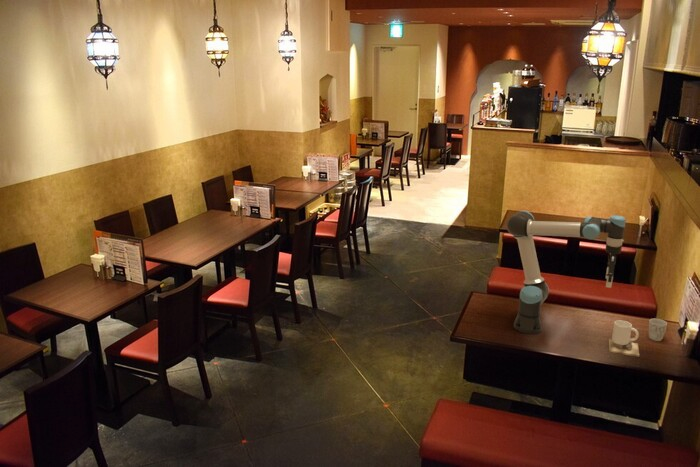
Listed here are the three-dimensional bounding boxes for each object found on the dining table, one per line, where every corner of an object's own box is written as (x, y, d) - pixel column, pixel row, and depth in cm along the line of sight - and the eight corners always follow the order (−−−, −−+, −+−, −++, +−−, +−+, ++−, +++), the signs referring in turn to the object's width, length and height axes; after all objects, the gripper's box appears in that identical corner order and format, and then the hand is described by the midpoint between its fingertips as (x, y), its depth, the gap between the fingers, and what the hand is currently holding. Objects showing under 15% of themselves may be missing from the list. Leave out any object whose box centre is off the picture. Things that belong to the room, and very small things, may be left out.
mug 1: (637, 341, 293) (640, 323, 290) (636, 348, 286) (639, 330, 283) (612, 336, 299) (615, 318, 296) (610, 342, 292) (613, 324, 289)
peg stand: (609, 351, 290) (609, 345, 289) (608, 340, 302) (609, 334, 301) (639, 357, 285) (640, 350, 284) (637, 345, 297) (638, 339, 296)
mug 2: (651, 331, 312) (654, 315, 309) (668, 336, 306) (671, 320, 304) (644, 338, 305) (647, 321, 302) (661, 343, 299) (664, 326, 296)
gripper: (622, 252, 281) (616, 292, 287) (621, 239, 303) (615, 276, 309) (606, 250, 284) (600, 289, 290) (606, 237, 306) (600, 274, 312)
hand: (608, 282), depth 299 cm, fingers open, 13 cm apart
